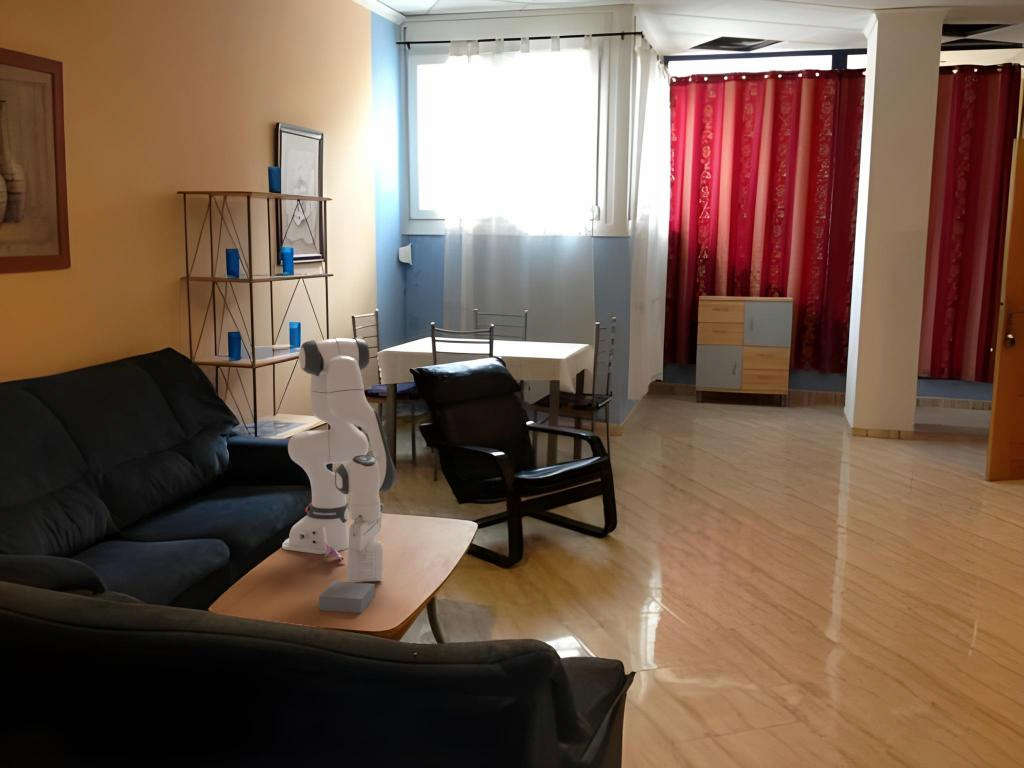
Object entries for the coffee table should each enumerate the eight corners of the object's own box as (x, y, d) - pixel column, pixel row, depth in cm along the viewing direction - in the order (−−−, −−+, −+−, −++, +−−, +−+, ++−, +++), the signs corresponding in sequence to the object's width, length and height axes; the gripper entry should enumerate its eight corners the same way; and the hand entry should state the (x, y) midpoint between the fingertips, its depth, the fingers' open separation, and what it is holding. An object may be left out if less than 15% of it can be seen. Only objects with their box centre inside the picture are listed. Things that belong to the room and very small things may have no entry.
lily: (336, 574, 279) (347, 544, 281) (301, 560, 281) (313, 531, 283) (346, 574, 291) (357, 545, 293) (312, 561, 293) (324, 533, 294)
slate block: (319, 609, 250) (319, 595, 250) (334, 594, 262) (334, 581, 261) (361, 613, 248) (361, 599, 248) (374, 597, 260) (374, 583, 260)
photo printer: (382, 576, 274) (382, 536, 272) (383, 581, 270) (383, 541, 268) (347, 578, 272) (347, 538, 270) (347, 583, 268) (347, 542, 266)
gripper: (364, 522, 257) (364, 569, 259) (385, 502, 277) (385, 546, 279) (342, 520, 258) (343, 567, 260) (365, 501, 278) (365, 545, 280)
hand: (365, 556), depth 270 cm, fingers closed on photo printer, 5 cm apart
